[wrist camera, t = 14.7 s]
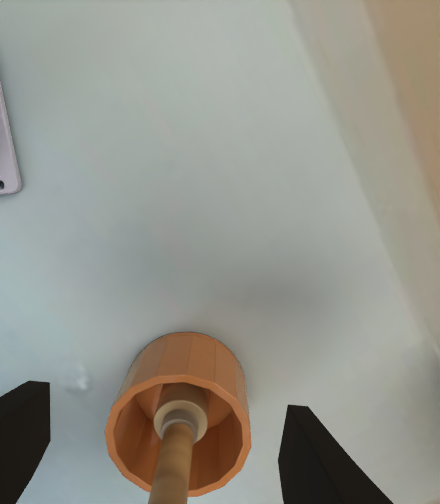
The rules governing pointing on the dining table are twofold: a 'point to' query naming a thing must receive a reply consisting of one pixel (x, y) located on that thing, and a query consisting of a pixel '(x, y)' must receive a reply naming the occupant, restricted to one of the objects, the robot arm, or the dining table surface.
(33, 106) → the dining table surface
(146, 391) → the copper cup
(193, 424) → the turned wooden handle
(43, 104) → the dining table surface
